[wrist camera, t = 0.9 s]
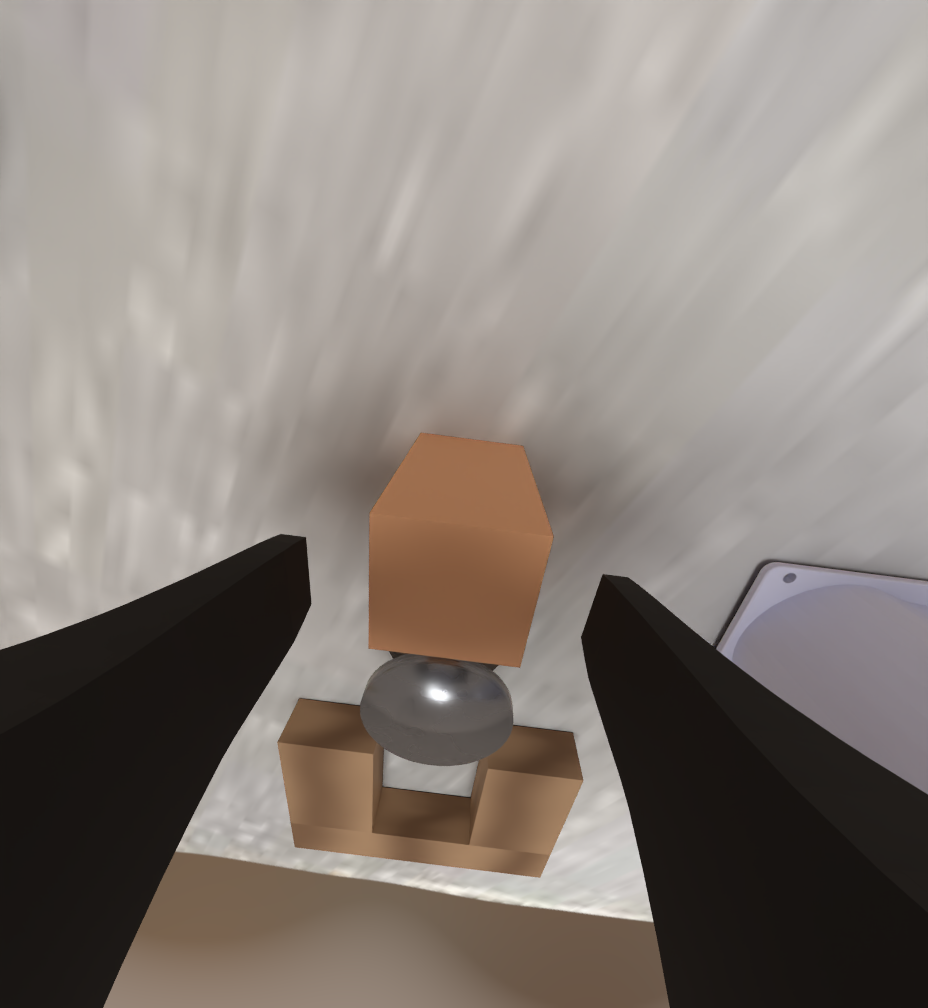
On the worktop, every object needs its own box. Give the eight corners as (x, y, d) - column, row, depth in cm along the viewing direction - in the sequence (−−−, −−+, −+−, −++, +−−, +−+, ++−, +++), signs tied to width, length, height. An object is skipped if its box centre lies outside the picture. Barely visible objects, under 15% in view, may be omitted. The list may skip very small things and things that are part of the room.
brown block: (523, 445, 14) (553, 536, 8) (505, 534, 16) (519, 667, 10) (420, 432, 14) (369, 512, 8) (414, 522, 16) (368, 648, 10)
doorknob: (516, 592, 17) (526, 676, 13) (496, 680, 20) (500, 773, 16) (389, 576, 17) (359, 654, 13) (386, 666, 20) (360, 755, 16)
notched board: (572, 733, 21) (583, 780, 19) (535, 830, 26) (540, 877, 24) (299, 698, 21) (277, 742, 19) (311, 802, 26) (294, 847, 24)
